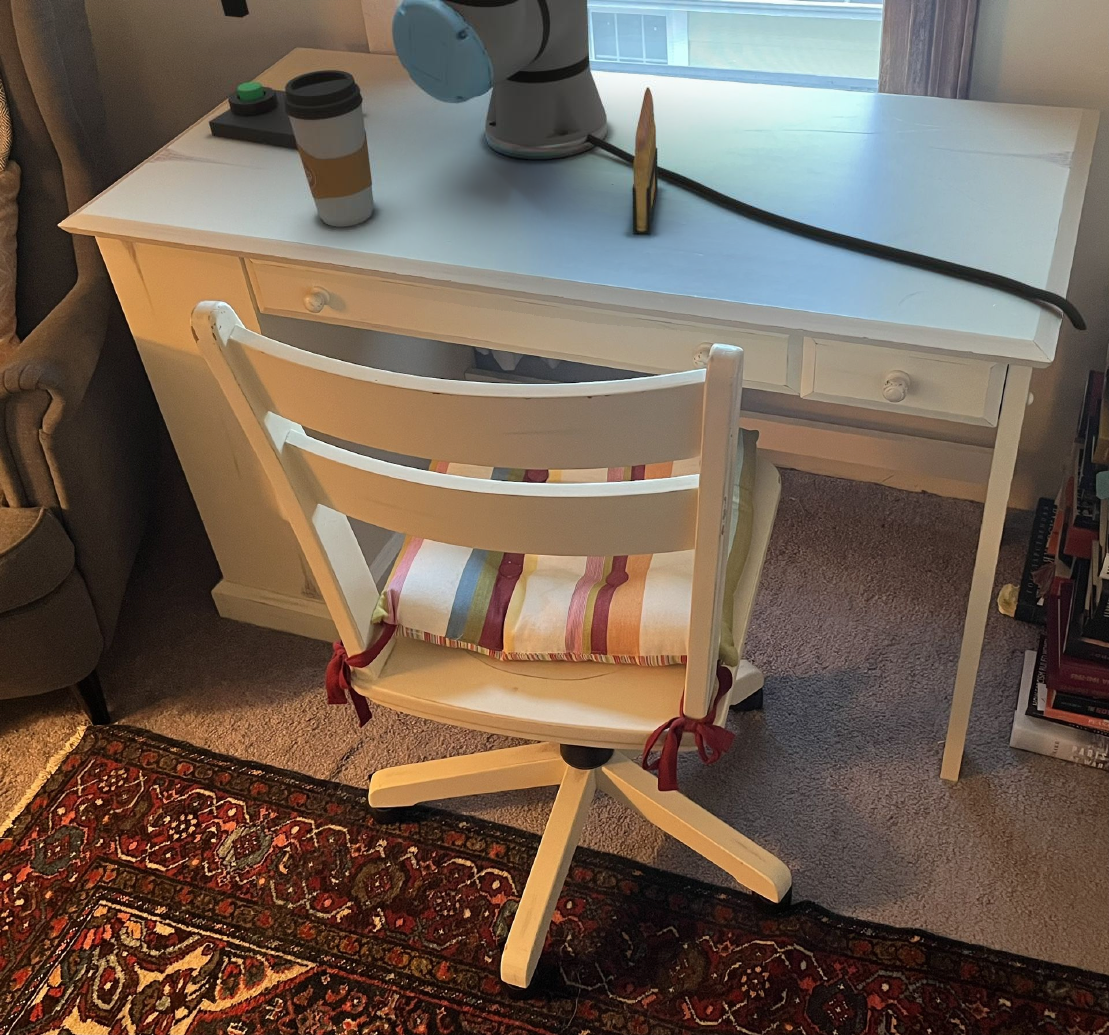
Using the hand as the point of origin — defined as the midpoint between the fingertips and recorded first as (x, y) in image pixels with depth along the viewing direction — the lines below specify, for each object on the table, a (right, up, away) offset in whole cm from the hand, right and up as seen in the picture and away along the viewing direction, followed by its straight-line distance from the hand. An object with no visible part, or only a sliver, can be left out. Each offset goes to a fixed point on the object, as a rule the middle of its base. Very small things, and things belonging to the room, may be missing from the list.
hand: (237, 14), depth 136 cm
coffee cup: (+16, -28, -11) cm, 35 cm away
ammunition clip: (+50, -29, -16) cm, 60 cm away
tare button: (-1, -7, +9) cm, 11 cm away
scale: (+4, -11, +9) cm, 15 cm away
